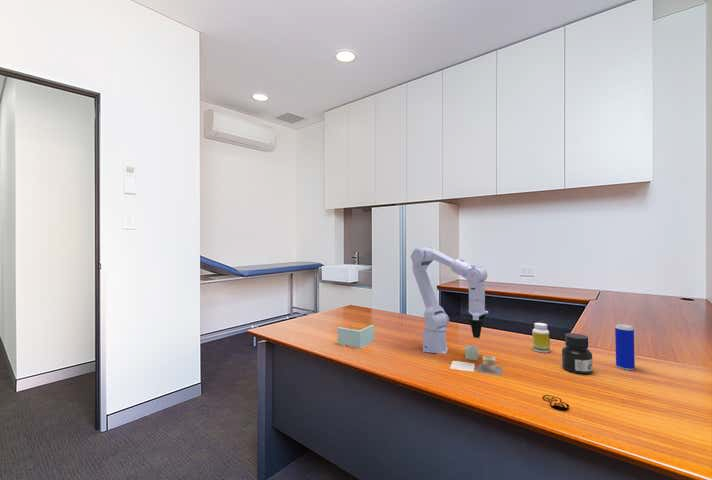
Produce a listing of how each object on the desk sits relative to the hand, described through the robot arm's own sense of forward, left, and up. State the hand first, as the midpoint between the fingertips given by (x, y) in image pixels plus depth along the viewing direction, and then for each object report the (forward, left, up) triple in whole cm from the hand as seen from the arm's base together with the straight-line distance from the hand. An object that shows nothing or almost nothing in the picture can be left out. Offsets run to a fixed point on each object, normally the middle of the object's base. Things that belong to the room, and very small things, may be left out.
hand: (477, 334), depth 123 cm
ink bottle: (+33, +4, -11) cm, 35 cm away
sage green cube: (-2, +2, -10) cm, 11 cm away
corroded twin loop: (+22, -26, -11) cm, 35 cm away
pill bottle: (+24, +22, -11) cm, 34 cm away
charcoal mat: (+4, -8, -10) cm, 14 cm away
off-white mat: (-5, -8, -10) cm, 14 cm away
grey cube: (+4, -8, -10) cm, 13 cm away
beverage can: (+49, +12, -11) cm, 51 cm away
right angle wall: (-53, +5, -11) cm, 54 cm away
